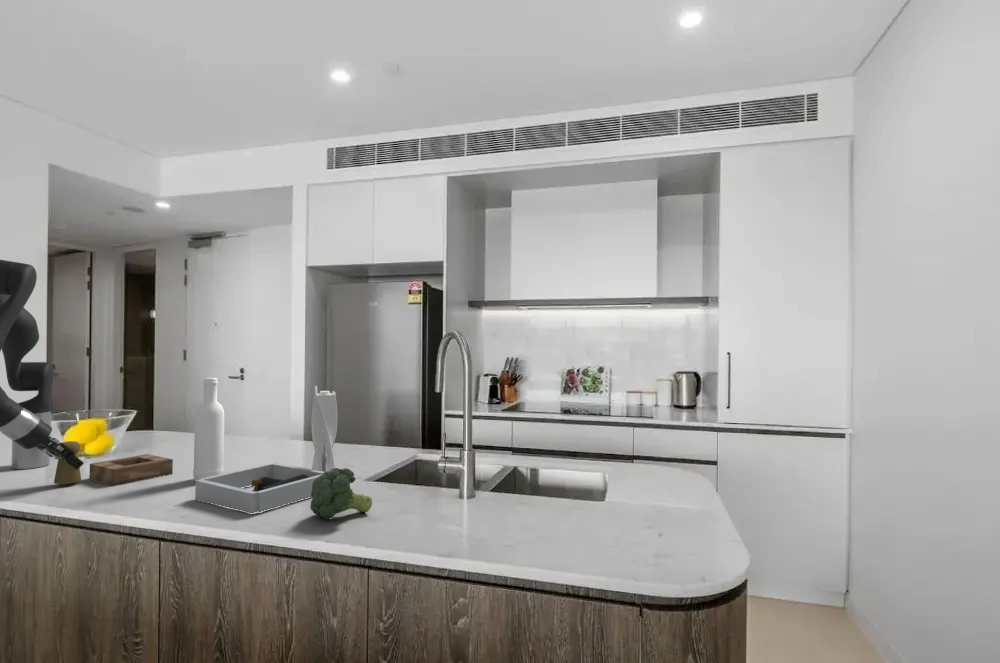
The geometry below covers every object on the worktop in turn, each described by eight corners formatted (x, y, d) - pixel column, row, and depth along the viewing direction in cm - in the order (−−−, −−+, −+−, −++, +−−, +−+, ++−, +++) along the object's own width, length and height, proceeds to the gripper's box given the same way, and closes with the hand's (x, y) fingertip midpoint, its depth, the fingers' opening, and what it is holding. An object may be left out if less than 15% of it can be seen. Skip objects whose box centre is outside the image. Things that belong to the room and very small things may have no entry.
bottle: (227, 479, 160) (229, 378, 160) (198, 484, 154) (201, 379, 154) (217, 474, 165) (219, 376, 166) (189, 479, 159) (191, 377, 160)
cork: (69, 484, 149) (70, 444, 149) (47, 483, 149) (49, 443, 149) (86, 478, 155) (87, 440, 155) (66, 477, 155) (67, 439, 155)
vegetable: (381, 512, 124) (321, 491, 117) (352, 542, 129) (293, 523, 122) (383, 471, 134) (328, 450, 127) (356, 500, 139) (302, 481, 132)
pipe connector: (235, 482, 137) (278, 470, 151) (234, 503, 137) (277, 489, 151) (271, 488, 133) (311, 474, 147) (270, 510, 133) (310, 494, 147)
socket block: (89, 479, 158) (89, 463, 158) (147, 468, 172) (147, 454, 172) (114, 485, 151) (114, 469, 151) (172, 474, 165) (172, 459, 165)
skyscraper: (301, 482, 158) (303, 386, 158) (320, 475, 165) (322, 384, 166) (324, 485, 155) (326, 387, 155) (343, 478, 162) (344, 385, 163)
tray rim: (193, 499, 139) (193, 480, 139) (273, 479, 160) (273, 462, 161) (254, 515, 127) (254, 494, 128) (331, 491, 149) (332, 473, 149)
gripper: (49, 419, 142) (100, 457, 152) (25, 414, 149) (75, 451, 159) (23, 442, 137) (77, 480, 148) (-1, 436, 144) (53, 472, 155)
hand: (76, 464), depth 154 cm, fingers closed on cork, 4 cm apart
